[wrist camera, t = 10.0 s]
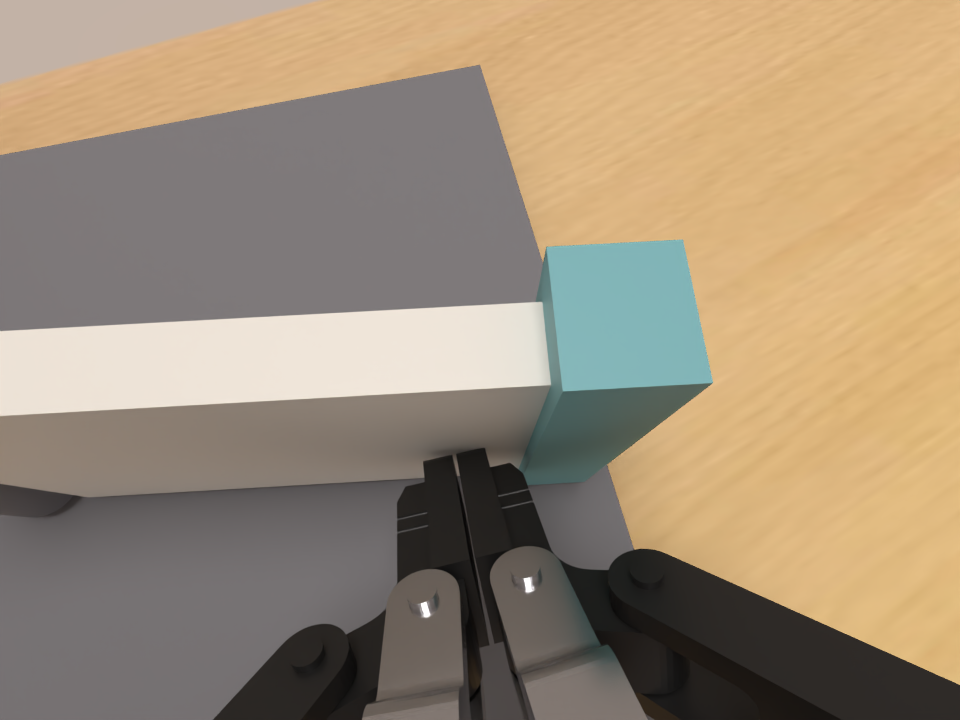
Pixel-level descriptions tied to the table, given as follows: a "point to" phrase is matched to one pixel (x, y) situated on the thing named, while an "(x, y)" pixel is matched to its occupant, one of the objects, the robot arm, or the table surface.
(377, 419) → the cream barrier panel
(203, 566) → the mat
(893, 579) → the table surface
